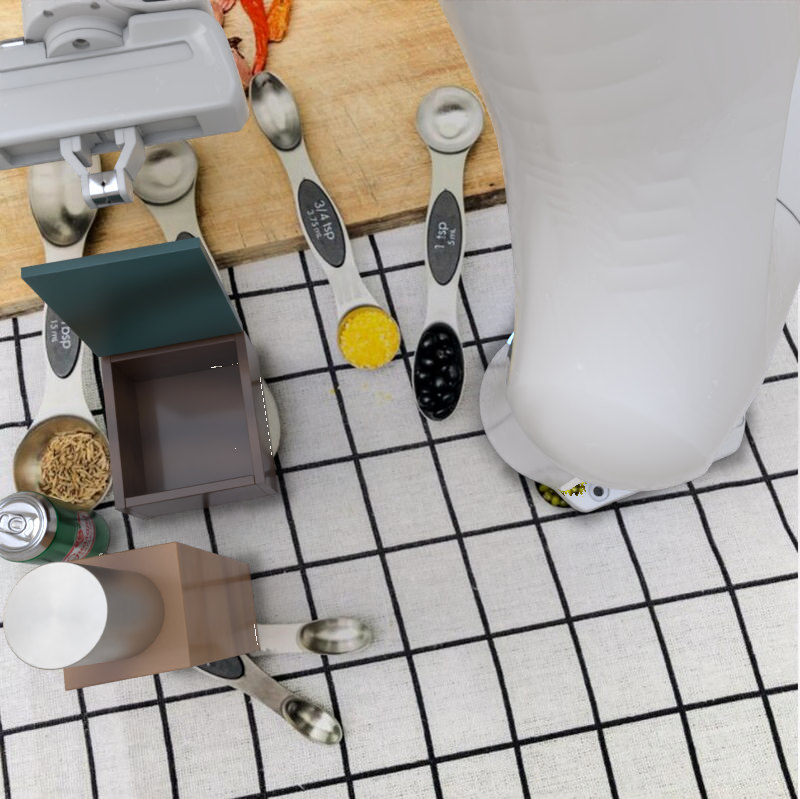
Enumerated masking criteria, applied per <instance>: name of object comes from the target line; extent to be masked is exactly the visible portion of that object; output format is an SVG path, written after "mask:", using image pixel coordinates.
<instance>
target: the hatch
mask: <svg viewBox="0 0 800 799" xmlns="http://www.w3.org/2000/svg"><path fill="white" fill-rule="evenodd" d="M20 279H22V281H23V282H24V283H25V284H26V286H28V287H29V288H30V289H31V290H32V291H33V292H34V293H35V294H36V295H37V296H38V297H39V298H40V299H41V300H42V301H43V303H44V304H46V305H47V307H49V308H50V310H51V311H53V313H54V314H55V315H56V316H58V318H60V320H61V321H62V322H63V323H64V324H65V325H66V326H67V327H68V328H69V329H70V330H71V331H72V332H73V333H74V334H75V335H76V336H77V337H78V338H79V339H80V340H81V341H82V342H83V343H84V344H85V345H86V346H87V347H88V348H89V350H91V352H93V353H94V355H96V357H97V358H100V357H103V356H108V355H114V354H120V353H125V352H131V351H137V350H142V349H148V348H154V347H159V346H165V345H171V344H176V343H182V342H188V341H193V340H199V339H205V338H210V337H216V336H222V335H227V334H233V333H239V332H243V330H244V327H243V323H242V320H241V319H240V318H241V317H240V316H239V314H238V311H237V310H236V308H235V306H234V304H233V302H232V300H231V298H230V296H229V294H228V292H227V290H226V288H225V286H224V284H223V282H222V279H221V278H220V276H219V274H218V272H217V270H216V268H215V265H214V264H213V262H212V260H211V257H210V256H209V254H208V252H207V250H206V247H205V245H204V243H203V242H202V240H201V238H200V236H195V237H190V238H184V239H178V240H173V241H167V242H161V243H160V242H159V243H155V244H148V245H144V246H137V247H133V248H125V249H120V250H115V251H109V252H103V253H96V254H92V255H86V256H81V257H73V258H67V259H62V260H57V261H50V262H44V263H39V264H33V265H28V266H22V267H20Z"/></svg>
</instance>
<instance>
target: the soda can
mask: <svg viewBox="0 0 800 799" xmlns="http://www.w3.org/2000/svg"><path fill="white" fill-rule="evenodd" d="M109 543H110V529H109V526H108V524H107V521H106V520H105V518H104V517H103V516H102V515H101V513H98V511H95V510H93V509H90V508H87V507H85V506H82V505H81V506H80V505H79V504H78V505H77V504H75V503H72V502H68V501H65V500H62V499H60V498H57V497H53V496H50V495H46V494H44V493H40V492H37V491H33V490H20V491H17V492H14V493H11V494H9V495H6V497H4V498H1V499H0V558H1V559H3V560H6V561H8V562H11V563H18V564H26V565H34V566H41V565H44V564H47V563H51V562H58V561H63V562H67V561H73V560H78V559H83V558H89V557H94V556H99V554H100V553H103V554H102V555H105V554H106V551H107V550H108V547H109Z"/></svg>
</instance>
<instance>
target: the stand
mask: <svg viewBox="0 0 800 799" xmlns="http://www.w3.org/2000/svg"><path fill="white" fill-rule="evenodd" d="M67 562H72V563H78V564H85V565H91V566H98V567H105V568H111V569H118V570H125V571H131V572H136V573H139V574H141V575H143V576H145V577H147V578H148V579H149V580H151V581H152V582H153V583H154V585H155V586H156V587H157V589H158V590H159V592H160V594H161V596H162V600H163V604H164V619H163V624H162V627H161V630H160V632H159V634H158V636H157V637H156V639H155V640H154V642H153V643H152V644H151V645H150V646H149V647H148V648H147V649H146V650H144V651H143V652H141V653H140V654H138V655H136V656H133V657H131V658H127V659H121V660H115V661H109V662H102V663H96V664H90V665H83V666H77V667H71V668H64V669H62V671H63V681H64V683H63V684H64V691H65V692H68V691H74V690H79V689H85V688H90V687H95V686H101V685H106V684H111V683H115V682H121V681H126V680H127V681H128V680H131V679H137V678H138V679H139V678H143V677H147V676H154V675H158V674H163V673H168V672H174V671H180V670H185V669H189V668H195V667H198V666H203V665H207V664H210V663H214V662H220V661H223V660H227V659H231V658H234V657H239V656H243V655H247V654H251V653H252V654H253V653H255V652H259V651H261V645H260V643H261V642H260V636H259V630H258V622H257V614H256V608H255V600H254V599H255V598H254V591H253V585H252V584H253V583H252V578H251V569H250V564H249V563H247V562H244V561H241V560H238V559H234V558H231V557H227V556H225V555H221V554H217V553H214V552H212V551H208V550H205V549H202V548H199V547H195V546H191V545H188V544H186V543H182V542H179V541H171V542H165V543H160V544H154V545H149V546H144V547H138V548H133V549H128V550H122V551H117V552H111V553H104V555H100V556H94V557H89V558H83V559H78V560H73V561H67ZM254 624H255V628H254ZM255 629H256V636H257V641H256V636H255ZM257 643H258V645H257Z"/></svg>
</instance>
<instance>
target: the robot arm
mask: <svg viewBox="0 0 800 799" xmlns="http://www.w3.org/2000/svg"><path fill="white" fill-rule="evenodd" d="M436 2H438V5H439V8H440V9H441V12H442V14H443V15H444V17H445V19H446V22H447V24H448V26H449V28H450V30H451V32H452V35H453V37H454V39H455V41H456V44H457V46H458V48H459V49H460V52H461V54H462V56H463V59H464V61H465V63H466V65H467V67H468V70H469V71H470V72H469V73H470V74H471V77H472V79H473V81H474V83H475V86H476V88H477V91H478V92H479V94H480V96H481V99H482V101H483V103H484V105H485V108H486V110H487V113H488V116H489V119H490V122H491V123H492V124H491V125H492V128H493V131H494V136H495V139H496V144H497V147H498V153H499V159H500V164H501V169H502V176H503V183H504V191H505V200H506V208H507V215H508V224H509V232H510V233H509V234H510V242H511V254H512V266H513V280H514V281H513V282H514V319H513V320H514V322H513V323H514V324H513V332H512V333H511V335H510V336H509V338H508V340H507V342H506V343H505V344H504V345H503V346H502V347H501V348H500V349H499V350H498V351H497V352H496V353H495V354H494V356H492V357H493V358H492V359H491V361H489V364H488V366H487V367H486V370H485V371H484V374H483V377H482V380H481V384H480V388H479V397H478V398H479V399H478V407H479V415H480V421H481V425H482V428H483V431H484V433H485V436H486V437H487V439H488V441H489V443H490V444H491V447H492V448H493V449H494V451H495V452H496V453H497V455H498V456H499V457H500V458H501V459H502V460H503V462H505V463H506V464H507V465H508V466H509V467H510V468H512V469H513V470H514V471H515V472H517V473H519V474H520V475H522V476H523V477H526V478H527V479H530V480H531V481H534V482H535V483H539V484H541V485H543V486H546V487H548V488H550V489H552V490H553V491H555V492H556V493H557V494H558V496H559V497H561V498H562V499H563V500H564V502H566V504H568V505H569V507H571V508H572V509H574V510H576V511H578V512H580V513H589V512H593V511H596V510H598V509H601V508H603V507H606V506H608V505H610V504H613V503H615V502H618V501H620V500H623V499H625V498H628V497H630V496H633V495H635V494H638V493H641V492H649V491H650V492H651V491H657V490H658V491H659V490H664V489H669V488H672V487H676V486H679V485H683V484H686V483H689V482H692V481H693V480H696V479H698V478H700V477H702V476H704V475H705V474H706V473H707V471H709V469H710V467H711V466H712V464H713V463H715V462H717V461H719V460H722V459H724V458H726V457H729V456H731V455H733V454H734V453H735V452H736V451H738V450H739V448H740V446H741V444H742V441H743V437H744V434H745V429H746V413H747V411H748V409H749V408H750V406H751V404H752V403H753V401H754V399H755V398H756V396H757V394H758V392H759V391H760V389H761V387H762V385H763V384H764V381H765V379H766V376H767V373H768V370H769V367H770V365H771V362H772V359H773V357H774V354H775V351H776V349H777V346H778V343H779V340H780V338H781V335H782V332H783V329H784V327H785V324H786V322H787V319H788V316H789V314H790V311H791V308H792V306H793V303H794V300H795V297H796V294H797V292H798V289H799V286H800V0H437V1H436ZM20 4H21V6H20V7H21V15H22V16H21V17H22V18H21V19H22V28H23V36H18V37H12V38H5V39H2V40H1V39H0V172H2V171H8V170H9V171H10V170H14V169H21V168H27V167H33V166H37V165H38V166H39V165H44V164H45V165H46V164H50V163H57V162H62V161H65V162H66V163H67V165H68V166H69V168H70V169H71V170H72V171H73V173H74V174H75V175H76V176H77V178H79V179H80V186H81V196H82V197H83V202H84V203H85V204H86V205H87V207H88V208H89V209H90V210H95V209H102V208H107V207H115V206H120V205H127V204H132V203H134V202H135V197H134V188H133V182H134V181H135V180H136V178H137V176H138V174H139V172H140V170H141V168H142V166H144V163H145V161H146V159H147V156H146V148H147V147H152V146H153V147H154V146H159V145H165V144H172V143H178V142H184V141H189V140H196V139H201V138H207V137H208V138H209V137H214V136H220V135H225V134H231V133H238V132H240V131H242V129H244V127H245V126H246V124H247V122H248V120H249V119H250V108H249V103H248V101H247V95H246V92H245V88H244V85H243V82H242V78H241V75H240V72H239V69H238V65H237V63H236V60H235V57H234V54H233V50H232V48H231V46H230V42H229V40H228V37H227V34H226V32H225V30H224V28H223V27H222V25H221V23H220V22H219V21H218V20H217V18H216V14H215V11H214V8H213V6H212V3H211V0H20ZM116 152H120V154H119V156H118V159H117V161H116V163H115V165H114V168H113V169H111V170H105V171H99V172H93V173H92V172H91V173H90V171H89V170H88V168H92V167H93V164H94V163H93V156H99V155H105V154H110V153H116ZM582 482H584V484H583V485H584V486H585V490H586V492H585V491H584V490H583V492H582V493H583V494H582V495H581V494H580V492H579V494H578V496H576V495H575V493H573V494H572V496H570V495H569V493H568V492H567V494H565V492H564V495H565V496H564V495H563V494H562V493H563V492H562V493H561V492H560V491H559V490H561V491H567V490H570V489H572V488H573V487H575V486H576V485H578V484H580V483H582ZM585 482H586V483H587V484H585ZM580 486H581V484H580ZM555 487H556V488H555ZM595 488H598V489H600V491H601V495H599V496H598V495H596V494H595V492H594V490H595ZM558 489H559V490H558ZM582 489H583V488H582ZM582 496H583V497H582Z"/></svg>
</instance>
